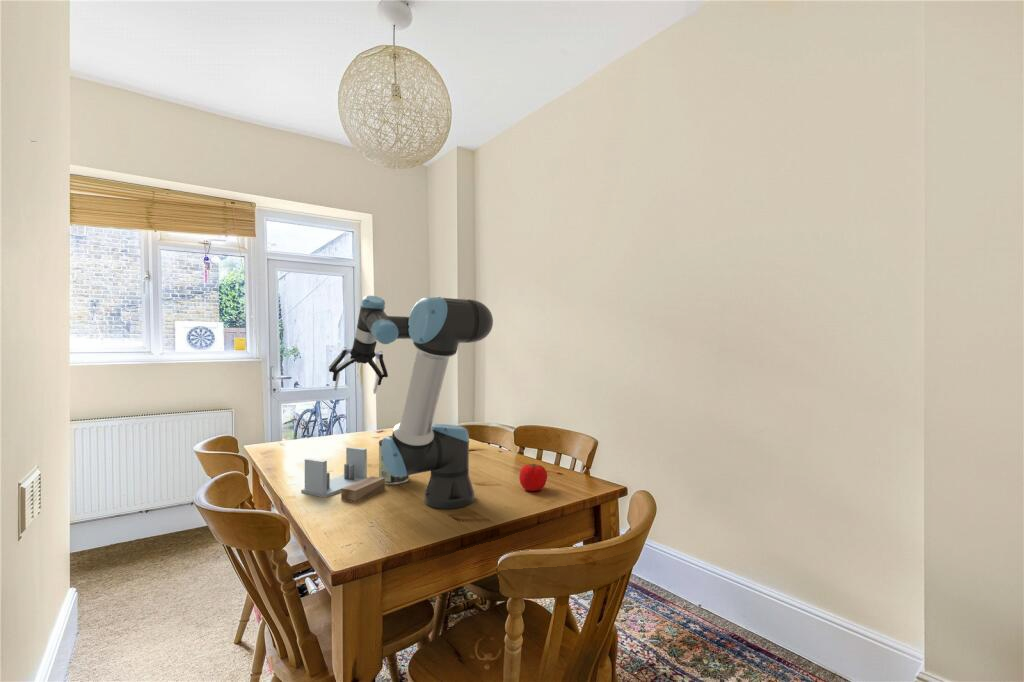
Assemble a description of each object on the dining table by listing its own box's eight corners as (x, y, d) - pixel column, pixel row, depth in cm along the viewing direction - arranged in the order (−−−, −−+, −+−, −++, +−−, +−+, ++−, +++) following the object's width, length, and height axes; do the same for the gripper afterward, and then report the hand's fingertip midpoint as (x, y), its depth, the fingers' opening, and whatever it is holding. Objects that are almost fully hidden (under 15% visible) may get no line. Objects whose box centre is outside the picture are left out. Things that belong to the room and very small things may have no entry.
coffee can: (411, 476, 168) (411, 437, 168) (404, 485, 158) (404, 443, 158) (383, 476, 168) (383, 437, 168) (374, 484, 158) (374, 443, 158)
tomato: (532, 496, 147) (532, 469, 147) (512, 488, 155) (512, 463, 155) (553, 490, 153) (553, 464, 153) (532, 482, 161) (532, 458, 161)
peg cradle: (370, 480, 163) (370, 449, 163) (326, 497, 145) (326, 462, 145) (346, 476, 168) (346, 446, 167) (301, 492, 150) (301, 458, 150)
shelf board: (384, 490, 154) (384, 478, 154) (355, 503, 141) (355, 490, 141) (371, 488, 156) (371, 476, 156) (341, 501, 143) (341, 488, 143)
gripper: (400, 338, 169) (388, 387, 177) (327, 328, 159) (318, 381, 167) (402, 348, 163) (390, 398, 171) (327, 338, 152) (318, 392, 160)
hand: (355, 390), depth 169 cm, fingers open, 13 cm apart
